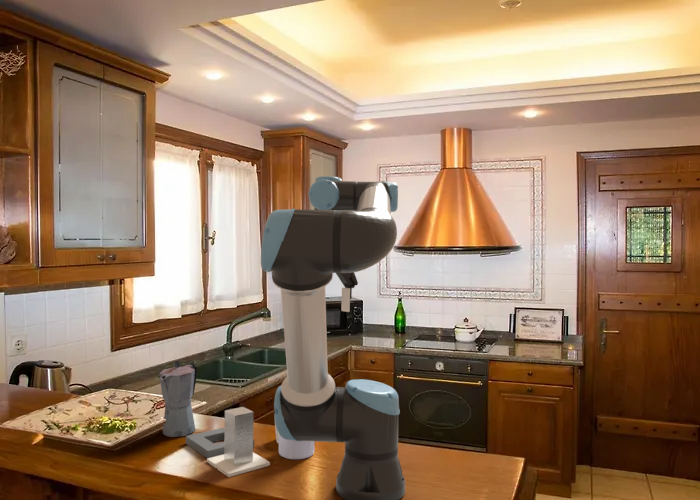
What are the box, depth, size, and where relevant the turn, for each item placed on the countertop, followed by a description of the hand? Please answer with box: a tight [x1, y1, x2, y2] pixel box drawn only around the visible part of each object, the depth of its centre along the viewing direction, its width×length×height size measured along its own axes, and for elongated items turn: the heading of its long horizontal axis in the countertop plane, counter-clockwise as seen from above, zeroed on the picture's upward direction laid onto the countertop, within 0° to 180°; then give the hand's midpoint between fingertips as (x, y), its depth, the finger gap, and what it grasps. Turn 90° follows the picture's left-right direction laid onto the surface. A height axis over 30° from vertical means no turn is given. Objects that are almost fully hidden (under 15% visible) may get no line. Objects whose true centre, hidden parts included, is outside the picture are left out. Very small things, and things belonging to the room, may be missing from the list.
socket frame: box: [185, 426, 255, 460], centre depth 148 cm, size 13×13×2 cm
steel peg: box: [223, 406, 254, 466], centre depth 136 cm, size 5×5×12 cm
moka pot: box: [158, 360, 199, 438], centre depth 157 cm, size 10×15×20 cm, turn 163°
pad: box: [206, 451, 271, 478], centre depth 136 cm, size 11×11×1 cm
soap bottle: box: [278, 434, 316, 460], centre depth 143 cm, size 9×9×25 cm
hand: (326, 313), depth 152 cm, fingers open, 13 cm apart
